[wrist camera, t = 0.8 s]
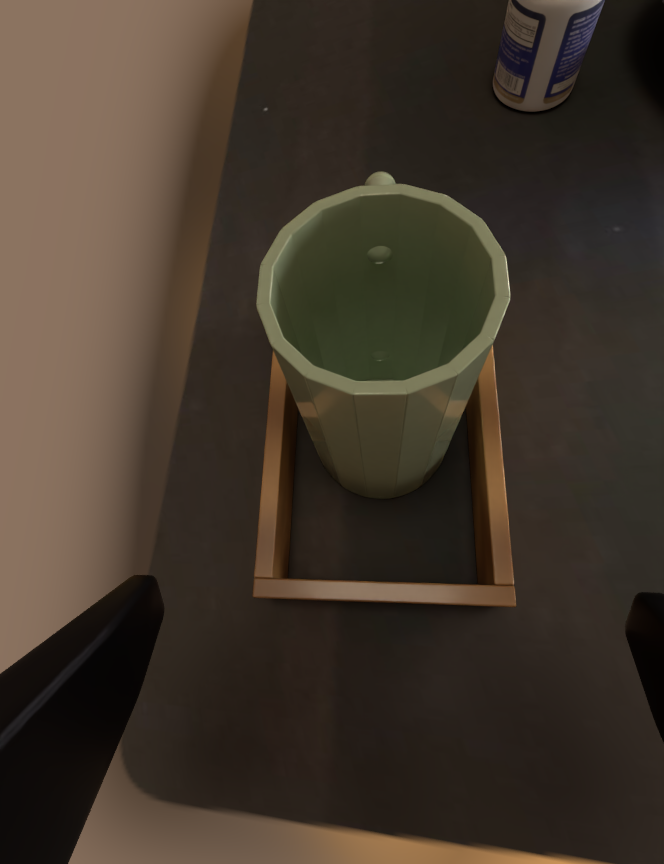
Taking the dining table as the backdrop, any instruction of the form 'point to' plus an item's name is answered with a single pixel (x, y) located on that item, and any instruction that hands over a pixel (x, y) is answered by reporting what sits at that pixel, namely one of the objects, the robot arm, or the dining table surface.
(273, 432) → the brown wooden rectangular frame
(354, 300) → the green faceted mug
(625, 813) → the dining table surface
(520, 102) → the pill bottle
